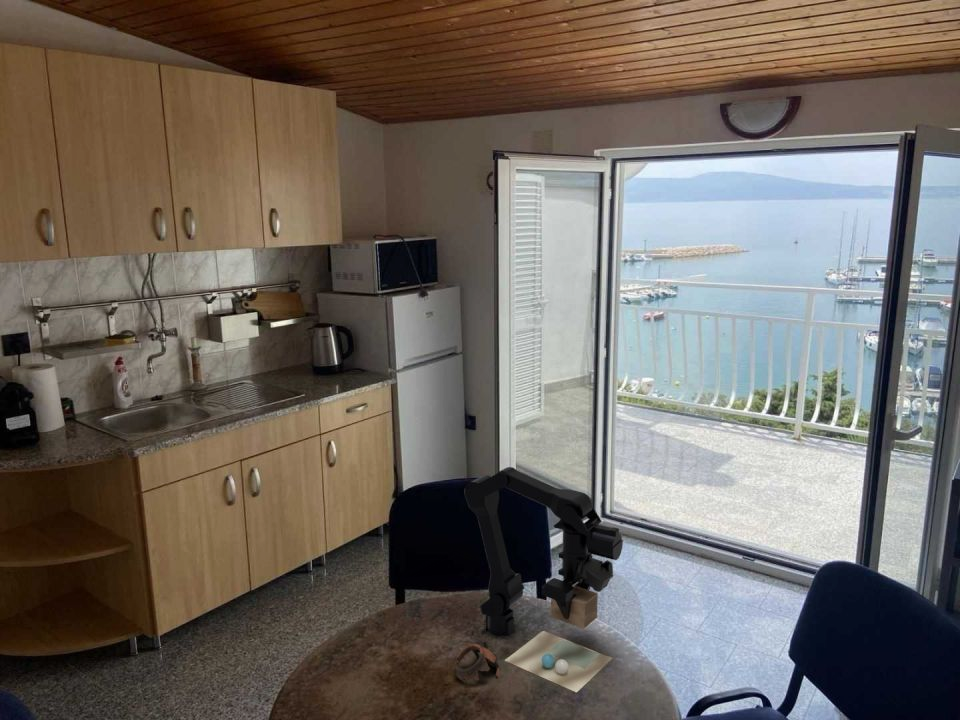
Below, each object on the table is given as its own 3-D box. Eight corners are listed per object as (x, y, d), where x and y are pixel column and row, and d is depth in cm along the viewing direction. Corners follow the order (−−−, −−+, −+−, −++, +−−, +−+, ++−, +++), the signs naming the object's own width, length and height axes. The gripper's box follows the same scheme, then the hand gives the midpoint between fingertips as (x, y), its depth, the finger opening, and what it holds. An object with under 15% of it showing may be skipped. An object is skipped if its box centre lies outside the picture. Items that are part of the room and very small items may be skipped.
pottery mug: (504, 692, 152) (486, 666, 149) (466, 705, 154) (447, 680, 152) (505, 648, 163) (488, 624, 160) (469, 661, 165) (452, 637, 163)
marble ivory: (552, 673, 156) (552, 661, 156) (559, 667, 158) (559, 654, 158) (563, 678, 154) (564, 665, 154) (571, 672, 157) (571, 659, 156)
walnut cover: (550, 616, 162) (551, 588, 161) (565, 605, 167) (565, 578, 166) (583, 628, 157) (584, 599, 156) (597, 617, 162) (597, 589, 161)
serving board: (504, 664, 161) (504, 660, 161) (543, 634, 174) (543, 630, 174) (576, 696, 150) (576, 692, 149) (612, 662, 162) (612, 657, 162)
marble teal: (538, 667, 158) (538, 655, 158) (546, 661, 161) (546, 649, 160) (550, 672, 157) (550, 660, 156) (557, 666, 159) (557, 653, 158)
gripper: (585, 573, 147) (583, 642, 150) (626, 544, 162) (624, 607, 164) (540, 559, 154) (540, 625, 157) (584, 532, 169) (582, 593, 171)
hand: (573, 612), depth 162 cm, fingers closed on walnut cover, 6 cm apart
